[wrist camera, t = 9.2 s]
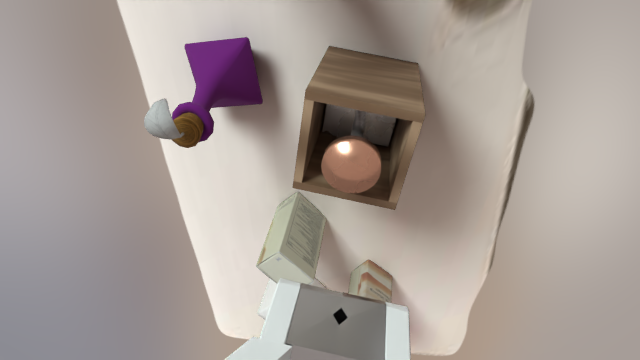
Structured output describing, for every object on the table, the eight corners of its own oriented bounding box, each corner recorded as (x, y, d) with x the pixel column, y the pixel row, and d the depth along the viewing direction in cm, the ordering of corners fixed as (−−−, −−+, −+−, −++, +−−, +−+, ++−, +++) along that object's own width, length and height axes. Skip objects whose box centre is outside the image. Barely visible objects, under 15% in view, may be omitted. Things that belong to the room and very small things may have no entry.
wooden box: (329, 46, 45) (305, 90, 33) (418, 63, 44) (425, 114, 33) (316, 126, 50) (292, 187, 39) (395, 142, 50) (394, 209, 38)
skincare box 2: (393, 275, 62) (392, 330, 54) (374, 288, 64) (370, 343, 56) (368, 257, 61) (363, 310, 53) (349, 271, 63) (342, 325, 55)
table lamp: (333, 65, 43) (311, 117, 32) (406, 80, 42) (409, 137, 31) (322, 130, 47) (299, 195, 36) (388, 144, 47) (385, 214, 36)
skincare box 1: (277, 204, 58) (252, 265, 48) (298, 190, 56) (276, 249, 46) (307, 233, 60) (289, 296, 50) (328, 219, 58) (314, 283, 48)
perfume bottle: (270, 93, 49) (215, 169, 34) (213, 98, 51) (137, 172, 36) (257, 30, 45) (188, 84, 30) (196, 36, 47) (102, 92, 32)
